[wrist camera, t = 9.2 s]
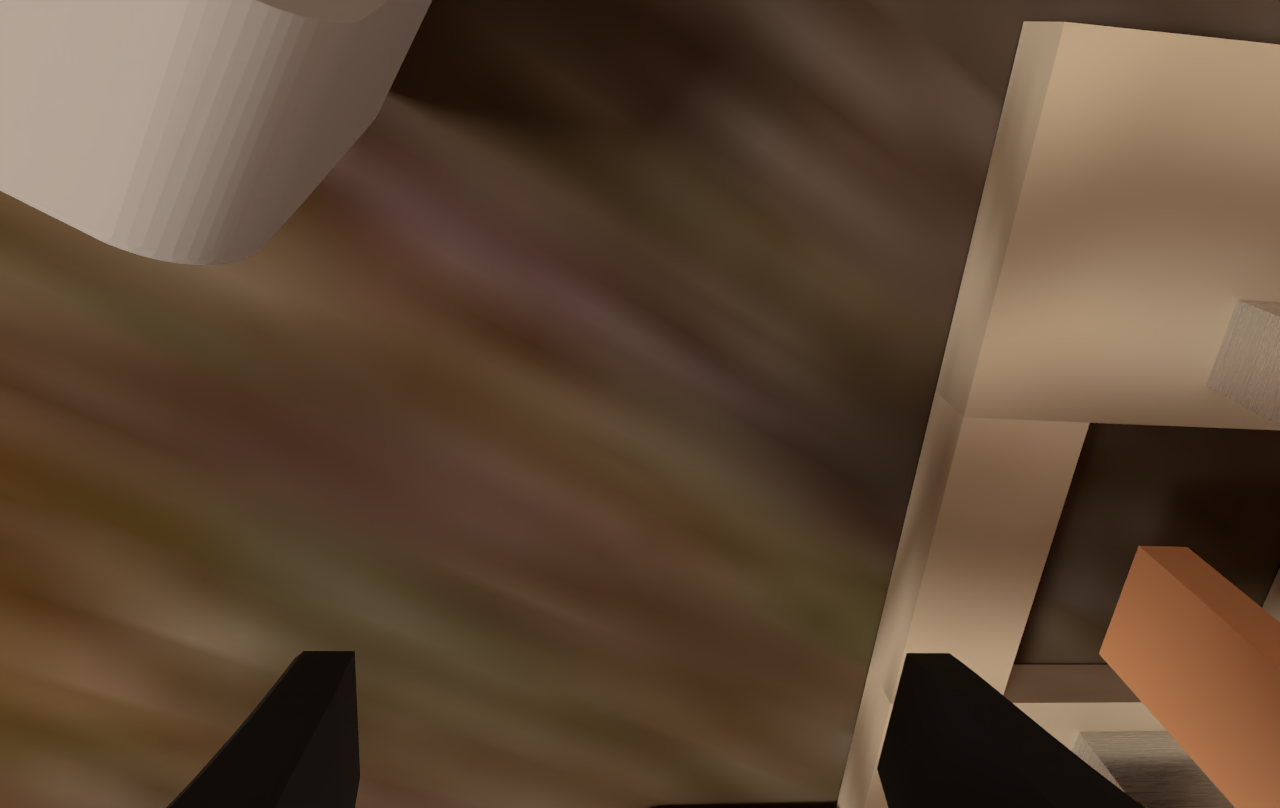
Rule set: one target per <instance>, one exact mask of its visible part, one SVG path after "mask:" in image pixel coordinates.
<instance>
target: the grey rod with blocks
mask: <svg viewBox="0 0 1280 808" xmlns="http://www.w3.org/2000/svg"><path fill="white" fill-rule="evenodd" d="M1206 386H1207V387H1208V388H1210V389H1212V390H1214V391H1216V392H1217V393H1219V394H1221V395H1223V396H1225V397H1227V398H1228V399H1230V400H1232V401H1234V402H1236V403H1237V404H1239V405H1241V406H1243V407H1245V408H1247V409H1248V410H1250V411H1252V412H1254V413H1256V414H1257V415H1259V416H1261V417H1263V418H1265V419H1267V420H1268V421H1270V422H1272V423H1274V424H1276V425H1277V426H1279V427H1280V303H1279V302H1263V301H1247V300H1237V303H1236V306H1235V308H1234V311H1233V314H1232V316H1231V319H1230V322H1229V325H1228V327H1227V330H1226V333H1225V336H1224V338H1223V341H1222V344H1221V346H1220V349H1219V352H1218V355H1217V357H1216V360H1215V363H1214V365H1213V368H1212V371H1211V374H1210V376H1209V379H1208V382H1207V385H1206ZM1072 752H1073V753H1074V754H1076V755H1077V756H1078V757H1079V758H1081V759H1082V760H1083V761H1084V762H1086V763H1087V764H1088V765H1090V766H1091V767H1092V768H1093V769H1095V770H1096V771H1097V772H1099V773H1100V774H1101V775H1102V776H1104V777H1105V778H1106V779H1108V780H1109V781H1110V782H1112V783H1113V784H1114V785H1116V786H1117V787H1118V788H1119V789H1121V790H1122V791H1123V792H1125V793H1126V794H1127V795H1129V796H1130V797H1132V798H1133V799H1134V800H1136V801H1137V802H1138V803H1140V804H1141V805H1142V806H1144V807H1145V808H1235V807H1234V806H1233V805H1232V804H1231V803H1230V801H1229V800H1228V799H1227V798H1226V797H1225V796H1224V795H1223V793H1222V792H1221V791H1220V790H1219V789H1218V788H1217V787H1216V786H1215V784H1214V783H1213V782H1212V781H1211V780H1210V779H1209V778H1208V777H1207V775H1206V774H1205V773H1204V772H1203V771H1202V770H1201V769H1200V767H1199V766H1198V765H1197V764H1196V763H1195V762H1194V761H1193V760H1192V758H1191V757H1190V756H1189V755H1188V754H1187V753H1186V752H1185V750H1184V749H1183V748H1182V747H1181V746H1180V745H1179V744H1178V743H1177V741H1176V740H1175V739H1174V738H1173V737H1172V736H1171V735H1170V733H1169V732H1168V731H1126V732H1079V733H1078V736H1077V739H1076V742H1075V744H1074V747H1073V750H1072Z"/></svg>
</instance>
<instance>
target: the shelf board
mask: <svg viewBox="0 0 1280 808" xmlns="http://www.w3.org/2000/svg"><path fill="white" fill-rule="evenodd" d="M1237 300H1247V301H1263V302H1279V303H1280V45H1278V44H1269V43H1260V42H1250V41H1241V40H1231V39H1222V38H1212V37H1203V36H1194V35H1184V34H1175V33H1165V32H1156V31H1146V30H1137V29H1128V28H1118V27H1109V26H1099V25H1090V24H1080V23H1071V22H1024V23H1023V27H1022V31H1021V35H1020V39H1019V44H1018V48H1017V52H1016V56H1015V60H1014V65H1013V69H1012V73H1011V77H1010V81H1009V86H1008V90H1007V94H1006V98H1005V102H1004V106H1003V111H1002V115H1001V119H1000V123H999V127H998V132H997V136H996V140H995V144H994V148H993V153H992V157H991V161H990V165H989V169H988V173H987V178H986V182H985V186H984V190H983V194H982V199H981V203H980V207H979V211H978V215H977V220H976V224H975V228H974V232H973V236H972V241H971V245H970V249H969V253H968V257H967V261H966V266H965V270H964V274H963V278H962V282H961V287H960V291H959V295H958V299H957V303H956V308H955V312H954V316H953V320H952V324H951V328H950V333H949V337H948V341H947V345H946V349H945V354H944V358H943V362H942V366H941V370H940V375H939V379H938V383H937V387H936V391H935V395H934V400H933V404H932V408H931V412H930V416H929V421H928V425H927V429H926V433H925V437H924V442H923V446H922V450H921V454H920V458H919V462H918V467H917V471H916V475H915V479H914V483H913V488H912V492H911V496H910V500H909V504H908V509H907V513H906V517H905V521H904V525H903V530H902V534H901V538H900V542H899V546H898V550H897V555H896V559H895V563H894V567H893V571H892V576H891V580H890V584H889V588H888V592H887V597H886V601H885V605H884V609H883V613H882V617H881V622H880V626H879V630H878V634H877V638H876V643H875V647H874V651H873V655H872V659H871V664H870V668H869V672H868V676H867V680H866V684H865V689H864V693H863V697H862V701H861V705H860V710H859V714H858V718H857V722H856V726H855V731H854V735H853V739H852V743H851V747H850V752H849V756H848V760H847V764H846V768H845V772H844V777H843V781H842V785H841V789H840V793H839V798H838V802H837V806H836V808H888V805H887V801H886V798H885V794H884V791H883V788H882V784H881V781H880V777H879V774H878V770H877V766H878V763H879V759H880V755H881V751H882V747H883V743H884V739H885V735H886V731H887V728H888V724H889V720H890V716H891V712H892V708H893V704H894V700H895V696H896V693H897V689H898V685H899V681H900V677H901V673H902V669H903V665H904V661H905V658H906V654H907V653H950V654H951V655H953V656H954V657H955V658H957V659H958V660H959V661H961V662H962V663H963V664H965V665H966V666H967V667H969V668H970V669H971V670H972V671H974V672H975V673H976V674H977V675H979V676H980V677H981V678H982V679H984V680H985V681H986V682H987V683H989V684H990V685H991V686H992V687H993V688H995V689H996V690H997V691H998V692H1000V693H1001V694H1002V695H1003V696H1004V697H1006V698H1007V699H1008V700H1009V701H1011V702H1012V703H1013V704H1014V705H1015V706H1017V707H1018V708H1019V709H1020V710H1021V711H1023V712H1024V713H1025V714H1026V715H1028V716H1029V717H1030V718H1031V719H1032V720H1034V721H1035V722H1036V723H1037V724H1039V725H1040V726H1041V727H1042V728H1043V729H1045V730H1046V731H1047V732H1048V733H1050V734H1051V735H1052V736H1053V737H1054V738H1056V739H1057V740H1058V741H1059V742H1061V743H1062V744H1063V745H1064V746H1066V747H1067V748H1068V749H1069V750H1071V751H1072V750H1073V747H1074V744H1075V742H1076V739H1077V736H1078V733H1079V732H1126V731H1167V730H1166V729H1165V728H1164V727H1163V726H1162V724H1161V723H1160V722H1159V721H1158V720H1157V719H1156V718H1155V717H1154V715H1153V714H1152V713H1151V712H1150V711H1149V710H1148V709H1147V707H1146V706H1145V705H1144V704H1143V703H1142V702H1141V701H1140V700H1139V698H1138V697H1137V696H1136V695H1135V694H1134V693H1133V692H1132V690H1131V689H1130V688H1129V687H1128V686H1127V685H1126V684H1125V683H1124V681H1123V680H1122V679H1121V678H1120V677H1119V676H1118V675H1117V674H1116V672H1115V671H1114V670H1113V669H1112V668H1111V667H1110V666H1109V665H1013V663H1014V660H1015V657H1016V654H1017V650H1018V647H1019V644H1020V641H1021V638H1022V635H1023V632H1024V628H1025V625H1026V622H1027V619H1028V616H1029V613H1030V609H1031V606H1032V603H1033V600H1034V597H1035V594H1036V591H1037V587H1038V584H1039V581H1040V578H1041V575H1042V572H1043V568H1044V565H1045V562H1046V559H1047V556H1048V553H1049V550H1050V546H1051V543H1052V540H1053V537H1054V534H1055V531H1056V527H1057V524H1058V521H1059V518H1060V515H1061V512H1062V509H1063V505H1064V502H1065V499H1066V496H1067V493H1068V490H1069V486H1070V483H1071V480H1072V477H1073V474H1074V471H1075V468H1076V464H1077V461H1078V458H1079V455H1080V452H1081V449H1082V445H1083V442H1084V439H1085V436H1086V433H1087V430H1088V427H1089V423H1112V424H1136V425H1161V426H1185V427H1210V428H1234V429H1259V430H1280V427H1279V426H1277V425H1276V424H1274V423H1272V422H1270V421H1268V420H1267V419H1265V418H1263V417H1261V416H1259V415H1257V414H1256V413H1254V412H1252V411H1250V410H1248V409H1247V408H1245V407H1243V406H1241V405H1239V404H1237V403H1236V402H1234V401H1232V400H1230V399H1228V398H1227V397H1225V396H1223V395H1221V394H1219V393H1217V392H1216V391H1214V390H1212V389H1210V388H1208V387H1207V386H1206V385H1207V382H1208V379H1209V376H1210V374H1211V371H1212V368H1213V365H1214V363H1215V360H1216V357H1217V355H1218V352H1219V349H1220V346H1221V344H1222V341H1223V338H1224V336H1225V333H1226V330H1227V327H1228V325H1229V322H1230V319H1231V316H1232V314H1233V311H1234V308H1235V306H1236V303H1237ZM1262 608H1263V609H1264V610H1265V611H1266V612H1268V613H1269V614H1270V615H1271V616H1273V617H1274V618H1275V619H1276V620H1278V621H1279V622H1280V568H1279V570H1278V573H1277V575H1276V577H1275V579H1274V582H1273V584H1272V586H1271V588H1270V591H1269V593H1268V595H1267V598H1266V600H1265V602H1264V604H1263V607H1262Z"/></svg>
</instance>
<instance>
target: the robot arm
mask: <svg viewBox="0 0 1280 808" xmlns="http://www.w3.org/2000/svg"><path fill="white" fill-rule="evenodd" d="M877 770H878V774H879V777H880V781H881V784H882V788H883V791H884V794H885V798H886V801H887V805H888V808H1145V807H1144V806H1142V805H1141V804H1140V803H1138V802H1137V801H1136V800H1134V799H1133V798H1132V797H1130V796H1129V795H1127V794H1126V793H1125V792H1123V791H1122V790H1121V789H1119V788H1118V787H1117V786H1116V785H1114V784H1113V783H1112V782H1110V781H1109V780H1108V779H1106V778H1105V777H1104V776H1102V775H1101V774H1100V773H1099V772H1097V771H1096V770H1095V769H1093V768H1092V767H1091V766H1090V765H1088V764H1087V763H1086V762H1084V761H1083V760H1082V759H1081V758H1079V757H1078V756H1077V755H1076V754H1074V753H1073V752H1072V751H1071V750H1069V749H1068V748H1067V747H1066V746H1064V745H1063V744H1062V743H1061V742H1059V741H1058V740H1057V739H1056V738H1054V737H1053V736H1052V735H1051V734H1050V733H1048V732H1047V731H1046V730H1045V729H1043V728H1042V727H1041V726H1040V725H1039V724H1037V723H1036V722H1035V721H1034V720H1032V719H1031V718H1030V717H1029V716H1028V715H1026V714H1025V713H1024V712H1023V711H1021V710H1020V709H1019V708H1018V707H1017V706H1015V705H1014V704H1013V703H1012V702H1011V701H1009V700H1008V699H1007V698H1006V697H1004V696H1003V695H1002V694H1001V693H1000V692H998V691H997V690H996V689H995V688H993V687H992V686H991V685H990V684H989V683H987V682H986V681H985V680H984V679H982V678H981V677H980V676H979V675H977V674H976V673H975V672H974V671H972V670H971V669H970V668H969V667H967V666H966V665H965V664H963V663H962V662H961V661H959V660H958V659H957V658H955V657H954V656H953V655H951V654H950V653H907V654H906V658H905V661H904V665H903V669H902V673H901V677H900V681H899V685H898V689H897V693H896V696H895V700H894V704H893V708H892V712H891V716H890V720H889V724H888V728H887V731H886V735H885V739H884V743H883V747H882V751H881V755H880V759H879V763H878V766H877ZM359 780H360V764H359V742H358V719H357V696H356V674H355V651H303V652H302V653H301V654H300V655H299V656H297V657H296V658H295V659H294V660H293V661H292V663H291V664H290V665H289V667H288V668H287V669H286V670H285V672H284V673H283V674H282V676H281V677H280V678H279V679H278V681H277V682H276V683H275V684H274V686H273V687H272V688H271V690H270V691H269V692H268V693H267V695H266V696H265V697H264V698H263V699H262V701H261V702H260V703H259V704H258V706H257V707H256V708H255V709H254V710H253V712H252V713H251V714H250V715H249V716H248V718H247V719H246V720H245V721H244V722H243V724H242V725H241V726H240V727H239V728H238V729H237V731H236V732H235V733H234V734H233V735H232V736H231V738H230V739H229V740H228V741H227V742H226V743H225V744H224V745H223V747H222V748H221V749H220V750H219V751H218V752H217V753H216V754H215V756H214V757H213V758H212V759H211V760H210V761H209V762H208V763H207V765H206V766H205V767H204V768H203V769H202V770H201V771H200V772H199V774H198V775H197V776H196V777H195V778H194V779H193V780H192V781H191V782H190V784H189V785H188V786H187V787H186V788H185V789H184V790H183V791H182V792H181V793H180V794H179V795H178V796H177V797H176V798H175V799H174V800H173V801H172V802H171V803H170V804H169V805H168V807H167V808H355V803H356V797H357V791H358V785H359Z"/></svg>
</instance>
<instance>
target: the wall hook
mask: <svg viewBox="0 0 1280 808" xmlns="http://www.w3.org/2000/svg"><path fill="white" fill-rule="evenodd" d="M431 2H432V0H0V191H2V192H4V193H6V194H8V195H10V196H12V197H14V198H16V199H18V200H20V201H22V202H24V203H26V204H28V205H30V206H32V207H34V208H36V209H38V210H40V211H42V212H44V213H46V214H48V215H50V216H52V217H54V218H56V219H58V220H60V221H62V222H64V223H66V224H68V225H70V226H72V227H74V228H76V229H78V230H80V231H82V232H84V233H86V234H88V235H90V236H92V237H94V238H96V239H98V240H100V241H102V242H104V243H107V244H109V245H112V246H114V247H117V248H119V249H122V250H125V251H128V252H131V253H134V254H137V255H140V256H144V257H148V258H153V259H157V260H161V261H167V262H173V263H179V264H192V265H215V264H226V263H231V262H235V261H239V260H242V259H245V258H247V257H249V256H251V255H253V254H255V253H257V252H258V251H259V250H260V249H261V248H262V247H263V246H264V245H265V244H266V243H267V242H268V241H269V240H270V239H271V238H272V236H273V235H274V234H275V233H276V232H277V231H278V230H279V229H280V228H281V226H282V225H283V224H284V223H285V222H286V221H287V220H288V219H289V217H290V216H291V215H292V214H293V213H294V212H295V211H296V210H297V209H298V207H299V206H300V205H301V204H302V203H303V202H304V201H305V200H306V199H307V197H308V196H309V195H310V194H311V193H312V192H313V190H314V189H315V188H316V187H317V186H318V185H319V184H320V182H321V181H322V180H323V179H324V178H325V177H326V175H327V174H328V173H329V172H330V171H331V170H332V168H333V167H334V166H335V165H336V164H337V163H338V161H339V160H340V159H341V158H342V157H343V156H344V154H345V153H346V152H347V151H348V150H349V149H350V148H351V146H352V145H353V144H354V143H355V142H356V141H357V139H358V138H359V137H360V136H361V135H362V134H363V132H364V131H365V130H366V129H367V128H368V127H369V125H370V124H371V123H372V122H373V121H374V120H375V118H376V116H377V115H378V113H379V111H380V109H381V107H382V105H383V103H384V100H385V98H386V96H387V94H388V92H389V90H390V88H391V86H392V84H393V82H394V79H395V77H396V75H397V73H398V71H399V69H400V67H401V65H402V63H403V61H404V58H405V56H406V54H407V52H408V50H409V48H410V46H411V44H412V42H413V40H414V37H415V35H416V33H417V31H418V29H419V27H420V25H421V23H422V21H423V19H424V16H425V14H426V12H427V10H428V8H429V6H430V4H431Z"/></svg>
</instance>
